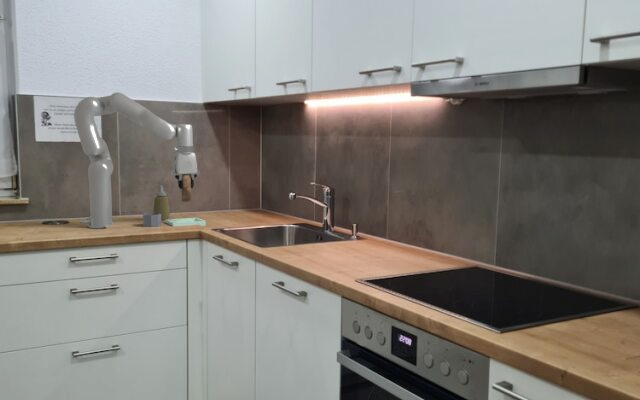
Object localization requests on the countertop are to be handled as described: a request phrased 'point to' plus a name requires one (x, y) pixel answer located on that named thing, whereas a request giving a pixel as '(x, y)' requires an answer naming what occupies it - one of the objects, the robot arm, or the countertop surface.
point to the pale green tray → (186, 222)
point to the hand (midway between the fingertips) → (186, 188)
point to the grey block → (152, 220)
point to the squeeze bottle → (161, 204)
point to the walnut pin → (186, 187)
